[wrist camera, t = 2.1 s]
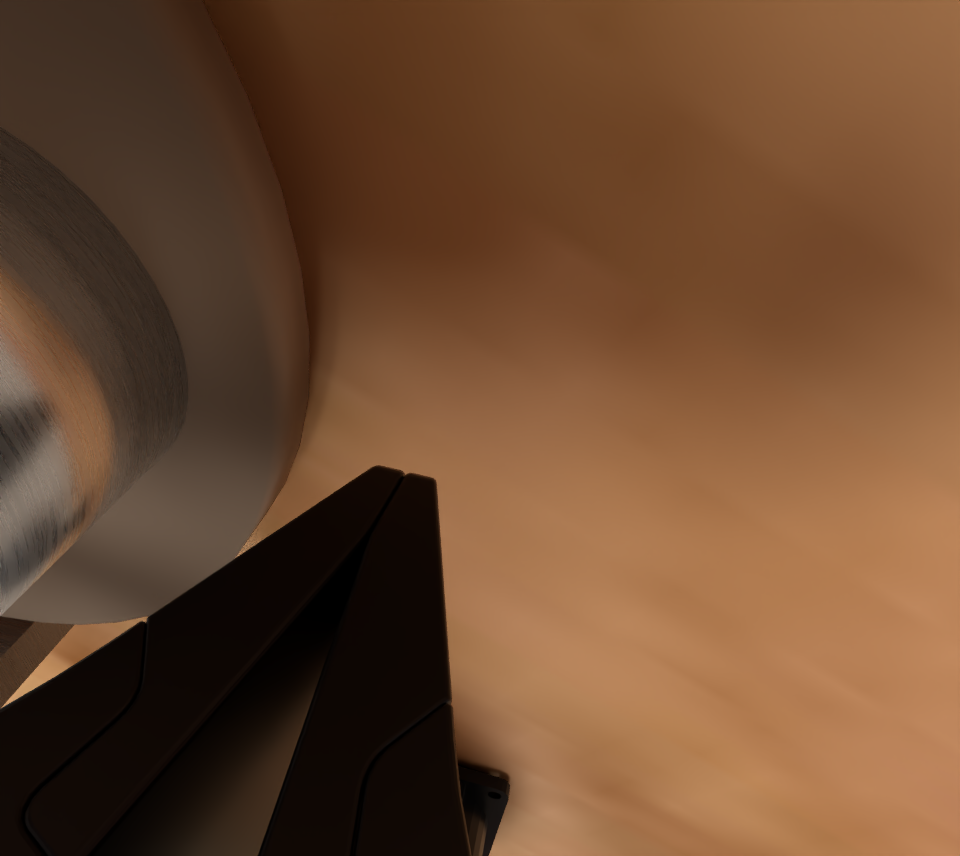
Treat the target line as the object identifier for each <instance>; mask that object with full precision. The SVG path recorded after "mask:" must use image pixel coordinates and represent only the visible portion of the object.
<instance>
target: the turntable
mask: <svg viewBox="0 0 960 856" xmlns="http://www.w3.org/2000/svg"><path fill="white" fill-rule="evenodd" d="M0 127H2V128H3V129H5V130H6V131H8V132H9V133H11V134H12V135H14V136H15V137H17V138H18V139H20V140H21V141H23V142H24V143H26V144H27V145H29V146H30V147H32V148H33V149H34V150H36V151H37V152H38V153H39V154H41V155H42V156H43V157H44V158H46V159H47V160H48V161H49V162H51V163H52V164H53V165H54V166H56V167H57V168H58V169H59V170H61V171H62V172H63V173H64V174H65V175H66V176H67V177H68V178H69V179H70V180H71V181H72V182H73V183H75V184H76V185H77V186H78V187H79V188H80V189H81V190H82V191H83V192H84V193H85V194H86V195H87V196H88V197H89V198H90V199H91V200H92V201H93V202H94V203H95V204H96V205H97V206H98V208H99V209H100V210H101V211H102V212H103V213H104V214H105V215H106V216H107V218H108V219H109V220H110V221H111V222H112V223H113V224H114V225H115V227H116V228H117V229H118V231H119V232H120V233H121V234H122V236H123V237H124V238H125V240H126V241H127V242H128V244H129V245H130V246H131V248H132V249H133V250H134V252H135V253H136V254H137V256H138V257H139V259H140V261H141V262H142V264H143V265H144V267H145V268H146V270H147V272H148V273H149V275H150V276H151V278H152V279H153V281H154V283H155V285H156V287H157V289H158V290H159V292H160V294H161V296H162V298H163V300H164V302H165V304H166V306H167V308H168V310H169V313H170V315H171V318H172V320H173V323H174V325H175V328H176V330H177V333H178V336H179V339H180V343H181V347H182V350H183V354H184V358H185V362H186V370H187V378H188V405H187V410H186V415H185V420H184V424H183V426H182V429H181V431H180V433H179V436H178V438H177V439H176V441H175V442H174V444H173V445H172V447H171V448H170V449H169V451H168V452H167V453H166V454H165V455H164V456H163V457H162V458H161V459H160V460H159V461H158V462H157V463H156V464H154V465H153V466H152V467H151V468H150V469H149V470H148V471H147V472H146V473H145V474H144V475H143V476H142V477H141V478H140V479H139V480H138V481H137V482H136V483H135V484H134V485H133V486H132V487H131V488H130V489H129V490H128V491H127V492H126V493H125V494H124V495H123V496H122V497H121V498H120V499H119V500H118V501H117V502H116V503H115V504H114V505H113V506H112V507H111V508H110V509H109V510H108V511H107V512H106V513H105V514H104V515H103V516H102V517H101V518H100V519H99V520H98V521H97V522H96V523H95V524H94V525H93V526H92V527H91V528H89V529H88V530H87V531H86V532H85V533H84V534H83V535H82V536H81V537H80V538H79V539H78V540H77V541H76V542H75V543H74V544H73V545H72V546H71V547H70V548H69V549H68V550H67V551H66V552H65V553H64V554H63V555H62V556H61V557H60V558H59V559H58V560H57V561H56V562H55V563H54V564H53V565H52V566H51V567H50V568H49V569H48V570H47V571H46V572H45V573H44V574H43V575H42V576H41V577H40V578H39V579H38V580H37V581H36V582H35V583H34V584H33V585H32V586H31V587H30V588H29V589H28V590H27V591H26V592H25V593H23V594H22V595H21V596H20V597H19V598H18V599H17V600H16V601H15V602H14V603H13V604H12V605H11V606H10V607H9V608H8V609H7V610H6V611H5V612H4V613H3V614H2V615H1V616H3V617H9V618H16V619H22V620H29V621H35V622H42V623H59V624H77V625H83V624H100V623H116V622H121V621H126V620H131V619H136V618H141V617H146V616H150V615H151V614H153V613H154V612H156V611H157V610H159V609H160V608H162V607H163V606H165V605H166V604H168V603H169V602H171V601H172V600H174V599H175V598H177V597H178V596H180V595H181V594H183V593H184V592H186V591H187V590H189V589H190V588H192V587H193V586H195V585H196V584H198V583H199V582H201V581H202V580H204V579H205V578H207V577H208V576H210V575H211V574H213V573H214V572H216V571H217V570H219V569H220V568H222V567H223V566H225V565H226V564H228V563H229V562H231V561H232V560H234V559H235V557H236V556H237V554H238V553H239V551H240V550H241V549H242V547H243V546H244V544H245V543H246V542H247V540H248V539H249V537H250V536H251V534H252V533H253V532H254V530H255V529H256V527H257V526H258V525H259V523H260V522H261V520H262V519H263V517H264V516H265V515H266V513H267V511H268V510H269V508H270V507H271V505H272V503H273V502H274V500H275V499H276V497H277V496H278V494H279V492H280V491H281V489H282V488H283V486H284V484H285V483H286V480H287V477H288V475H289V472H290V469H291V467H292V464H293V461H294V459H295V456H296V454H297V451H298V448H299V446H300V442H301V436H302V431H303V425H304V420H305V414H306V408H307V403H308V397H309V352H310V336H309V328H308V320H307V312H306V303H305V295H304V287H303V279H302V271H301V266H300V262H299V258H298V254H297V250H296V246H295V242H294V238H293V234H292V230H291V226H290V221H289V217H288V213H287V209H286V205H285V201H284V197H283V193H282V189H281V186H280V184H279V181H278V178H277V175H276V173H275V170H274V167H273V164H272V162H271V159H270V156H269V153H268V151H267V148H266V145H265V142H264V140H263V137H262V134H261V131H260V128H259V126H258V123H257V120H256V117H255V115H254V112H253V109H252V106H251V104H250V101H249V98H248V96H247V94H246V92H245V90H244V87H243V85H242V83H241V81H240V79H239V77H238V75H237V73H236V71H235V68H234V66H233V64H232V62H231V60H230V58H229V56H228V54H227V52H226V49H225V47H224V45H223V43H222V41H221V39H220V37H219V35H218V33H217V30H216V28H215V26H214V24H213V22H212V20H211V18H210V16H209V14H208V12H207V9H206V7H205V5H204V3H203V1H202V0H0Z"/></svg>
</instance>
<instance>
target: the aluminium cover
mask: <svg viewBox="0 0 960 856" xmlns="http://www.w3.org/2000/svg"><path fill="white" fill-rule="evenodd" d="M187 405H188V378H187V370H186V362H185V358H184V354H183V350H182V347H181V343H180V339H179V336H178V333H177V330H176V328H175V325H174V323H173V320H172V318H171V315H170V313H169V310H168V308H167V306H166V304H165V302H164V300H163V298H162V296H161V294H160V292H159V290H158V289H157V287H156V285H155V283H154V281H153V279H152V278H151V276H150V275H149V273H148V272H147V270H146V268H145V267H144V265H143V264H142V262H141V261H140V259H139V257H138V256H137V254H136V253H135V252H134V250H133V249H132V248H131V246H130V245H129V244H128V242H127V241H126V240H125V238H124V237H123V236H122V234H121V233H120V232H119V231H118V229H117V228H116V227H115V225H114V224H113V223H112V222H111V221H110V220H109V219H108V218H107V216H106V215H105V214H104V213H103V212H102V211H101V210H100V209H99V208H98V206H97V205H96V204H95V203H94V202H93V201H92V200H91V199H90V198H89V197H88V196H87V195H86V194H85V193H84V192H83V191H82V190H81V189H80V188H79V187H78V186H77V185H76V184H75V183H73V182H72V181H71V180H70V179H69V178H68V177H67V176H66V175H65V174H64V173H63V172H62V171H61V170H59V169H58V168H57V167H56V166H54V165H53V164H52V163H51V162H49V161H48V160H47V159H46V158H44V157H43V156H42V155H41V154H39V153H38V152H37V151H36V150H34V149H33V148H32V147H30V146H29V145H27V144H26V143H24V142H23V141H21V140H20V139H18V138H17V137H15V136H14V135H12V134H11V133H9V132H8V131H6V130H5V129H3V128H2V127H0V616H1V615H2V614H3V613H4V612H5V611H6V610H7V609H8V608H9V607H10V606H11V605H12V604H13V603H14V602H15V601H16V600H17V599H18V598H19V597H20V596H21V595H22V594H23V593H25V592H26V591H27V590H28V589H29V588H30V587H31V586H32V585H33V584H34V583H35V582H36V581H37V580H38V579H39V578H40V577H41V576H42V575H43V574H44V573H45V572H46V571H47V570H48V569H49V568H50V567H51V566H52V565H53V564H54V563H55V562H56V561H57V560H58V559H59V558H60V557H61V556H62V555H63V554H64V553H65V552H66V551H67V550H68V549H69V548H70V547H71V546H72V545H73V544H74V543H75V542H76V541H77V540H78V539H79V538H80V537H81V536H82V535H83V534H84V533H85V532H86V531H87V530H88V529H89V528H91V527H92V526H93V525H94V524H95V523H96V522H97V521H98V520H99V519H100V518H101V517H102V516H103V515H104V514H105V513H106V512H107V511H108V510H109V509H110V508H111V507H112V506H113V505H114V504H115V503H116V502H117V501H118V500H119V499H120V498H121V497H122V496H123V495H124V494H125V493H126V492H127V491H128V490H129V489H130V488H131V487H132V486H133V485H134V484H135V483H136V482H137V481H138V480H139V479H140V478H141V477H142V476H143V475H144V474H145V473H146V472H147V471H148V470H149V469H150V468H151V467H152V466H153V465H154V464H156V463H157V462H158V461H159V460H160V459H161V458H162V457H163V456H164V455H165V454H166V453H167V452H168V451H169V449H170V448H171V447H172V445H173V444H174V442H175V441H176V439H177V438H178V436H179V433H180V431H181V429H182V426H183V424H184V420H185V415H186V410H187Z"/></svg>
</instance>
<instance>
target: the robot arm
mask: <svg viewBox="0 0 960 856" xmlns="http://www.w3.org/2000/svg"><path fill="white" fill-rule="evenodd" d="M451 702H452V692H451V678H450V664H449V650H448V636H447V622H446V608H445V594H444V579H443V565H442V551H441V537H440V523H439V509H438V495H437V483H436V480H435V479H434V478H431V477H427V476H423V475H419V474H414V473H408V474H406V475H405V473H404V472H403V471H401V470H397V469H393V468H389V467H385V466H380V465H377V466H374V467H372V468H370V469H369V470H367V471H366V472H364V473H363V474H361V475H360V476H358V477H357V478H355V479H354V480H352V481H351V482H349V483H348V484H346V485H345V486H343V487H342V488H340V489H339V490H337V491H336V492H334V493H333V494H331V495H330V496H328V497H327V498H325V499H324V500H322V501H321V502H319V503H318V504H316V505H315V506H313V507H312V508H310V509H309V510H307V511H306V512H304V513H303V514H301V515H300V516H298V517H297V518H295V519H294V520H292V521H291V522H289V523H288V524H286V525H285V526H283V527H282V528H280V529H279V530H277V531H276V532H274V533H273V534H271V535H270V536H268V537H267V538H265V539H264V540H262V541H261V542H259V543H258V544H256V545H255V546H253V547H252V548H250V549H249V550H247V551H246V552H244V553H243V554H241V555H240V556H238V557H237V558H235V559H234V560H232V561H231V562H229V563H228V564H226V565H225V566H223V567H222V568H220V569H219V570H217V571H216V572H214V573H213V574H211V575H210V576H208V577H207V578H205V579H204V580H202V581H201V582H199V583H198V584H196V585H195V586H193V587H192V588H190V589H189V590H187V591H186V592H184V593H183V594H181V595H180V596H178V597H177V598H175V599H174V600H172V601H171V602H169V603H168V604H166V605H165V606H163V607H162V608H160V609H159V610H157V611H156V612H154V613H153V614H151V615H150V616H149V617H148V618H147V622H146V623H145V622H143V621H142V622H139V623H137V624H136V625H134V626H133V627H131V628H130V629H128V630H127V631H125V632H124V633H122V634H121V635H119V636H118V637H116V638H115V639H113V640H112V641H110V642H109V643H107V644H106V645H104V646H103V647H101V648H100V649H98V650H96V651H95V652H93V653H92V654H90V655H89V656H87V657H85V658H84V659H82V660H81V661H79V662H78V663H76V664H74V665H73V666H71V667H70V668H68V669H67V670H65V671H63V672H62V673H60V674H59V675H57V676H56V677H54V678H52V679H50V680H49V681H47V682H45V683H44V684H42V685H40V686H38V687H37V688H35V689H33V690H32V691H30V692H28V693H26V694H25V695H23V696H21V697H20V698H18V699H16V700H14V701H13V702H11V703H9V704H8V705H6V706H4V707H3V708H1V709H0V856H489V853H490V850H491V847H492V845H493V842H494V839H495V836H496V833H497V830H498V827H499V825H500V822H501V819H502V816H503V813H504V810H505V807H506V805H507V802H508V798H509V792H510V784H509V783H508V782H507V781H506V780H504V779H502V778H499V777H496V776H492V775H488V774H485V773H481V772H478V771H474V770H470V769H467V768H463V767H460V766H458V763H457V753H456V744H455V730H454V716H453V707H452V705H451Z"/></svg>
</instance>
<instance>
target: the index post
mask: <svg viewBox="0 0 960 856" xmlns="http://www.w3.org/2000/svg"><path fill="white" fill-rule="evenodd" d="M74 625H75V624H59V623H42V622H35V621H29V620H22V619H16V618H9V617H3V616H0V708H1V707H2V706H3V705H4V704H5V703H6V702H7V700H8V699H9V698H10V697H11V696H12V695H13V694H14V693H15V691H16V690H17V689H18V688H19V687H20V686H21V685H22V683H23V682H24V681H25V680H26V679H27V678H28V677H29V676H30V674H31V673H32V672H33V671H34V670H35V669H36V668H37V667H38V665H39V664H40V663H41V662H42V661H43V660H44V659H45V657H46V656H47V655H48V654H49V653H50V652H51V651H52V650H53V648H54V647H55V646H56V645H57V644H58V643H59V642H60V641H61V639H62V638H63V637H64V636H65V635H66V634H67V633H68V631H69V630H70V629H71V628H72V627H73V626H74Z"/></svg>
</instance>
